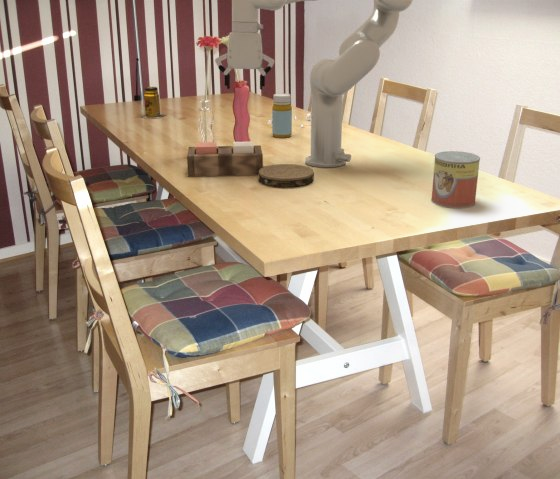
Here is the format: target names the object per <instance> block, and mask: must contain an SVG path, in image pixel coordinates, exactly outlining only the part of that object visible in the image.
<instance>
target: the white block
mask: <svg viewBox="0 0 560 479" xmlns="http://www.w3.org/2000/svg"><path fill="white" fill-rule="evenodd" d="M232 146H233V154H235V153H254V146H255V145H254V142H253V141H252V140H251V141H233V142H232Z"/></svg>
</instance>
